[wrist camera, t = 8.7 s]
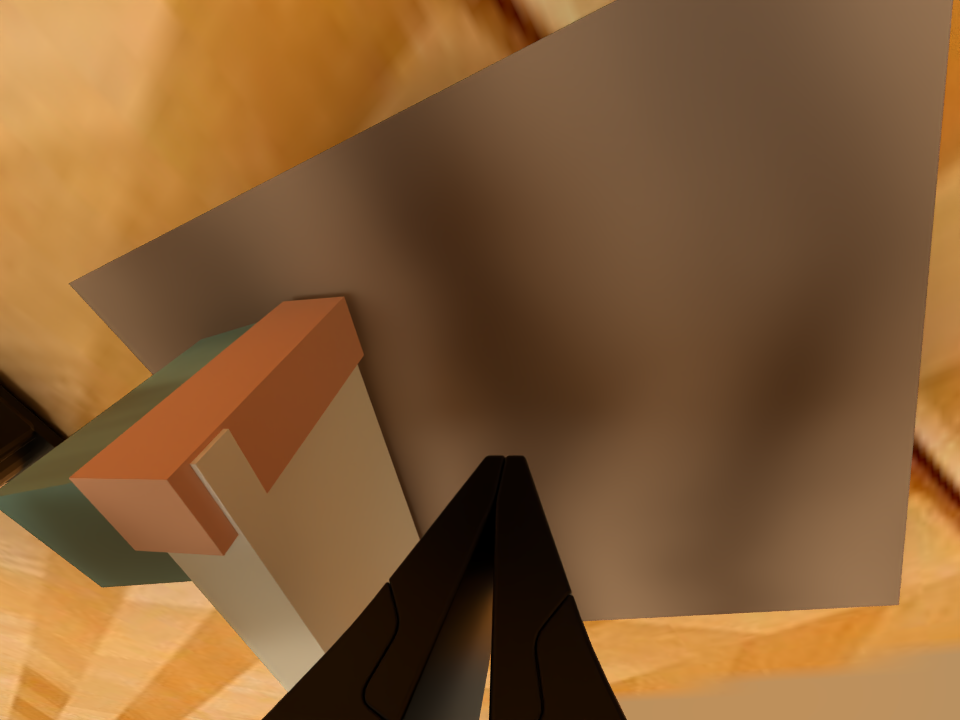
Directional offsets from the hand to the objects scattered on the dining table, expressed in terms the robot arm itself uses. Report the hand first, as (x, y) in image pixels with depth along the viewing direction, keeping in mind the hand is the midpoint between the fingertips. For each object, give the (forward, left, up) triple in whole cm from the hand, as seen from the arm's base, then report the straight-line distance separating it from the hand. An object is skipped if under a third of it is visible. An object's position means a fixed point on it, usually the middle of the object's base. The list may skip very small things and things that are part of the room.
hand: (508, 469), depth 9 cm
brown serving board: (-1, -3, -4) cm, 5 cm away
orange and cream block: (-6, -3, -3) cm, 7 cm away
